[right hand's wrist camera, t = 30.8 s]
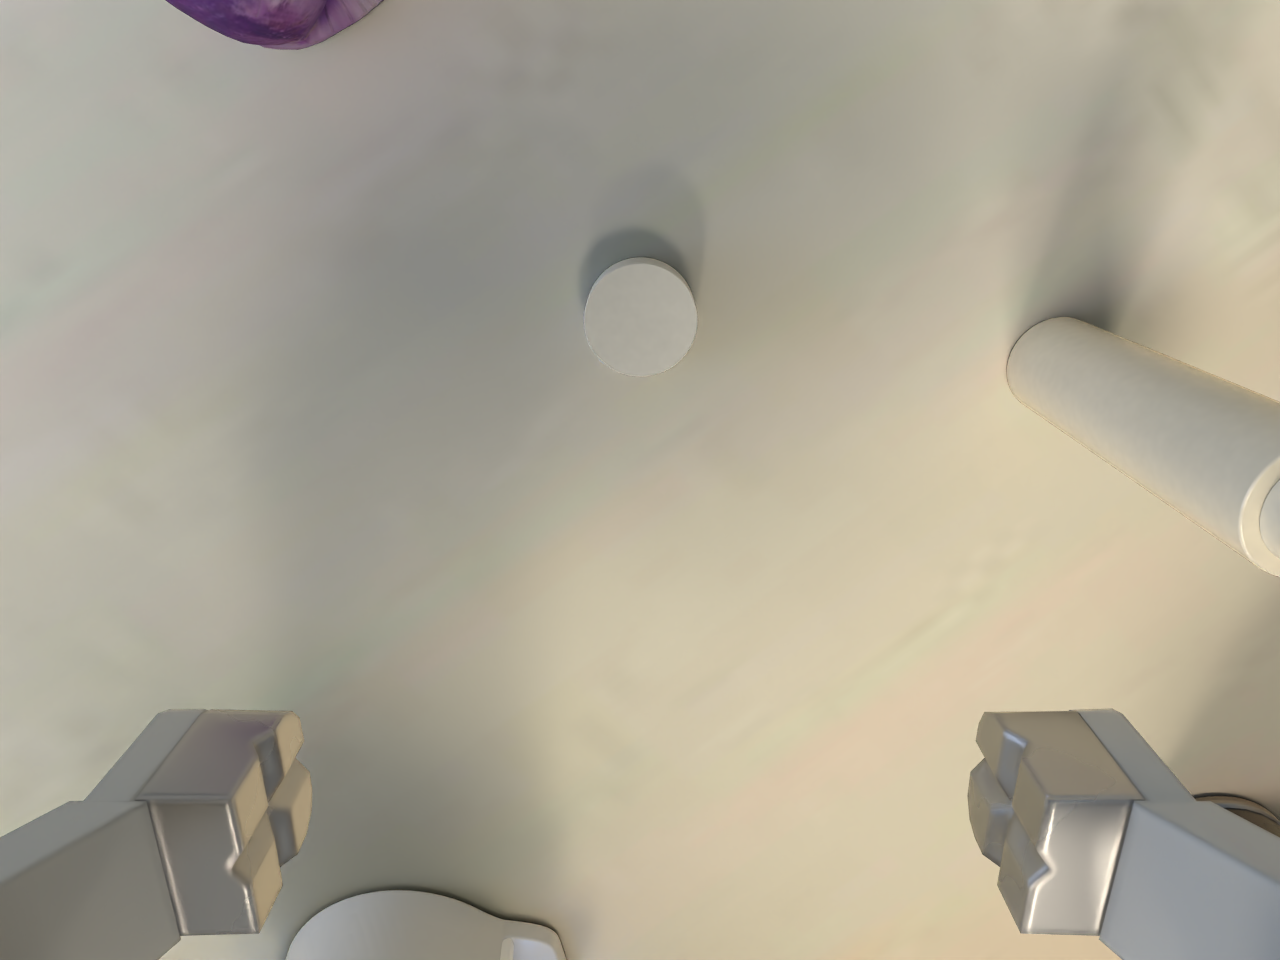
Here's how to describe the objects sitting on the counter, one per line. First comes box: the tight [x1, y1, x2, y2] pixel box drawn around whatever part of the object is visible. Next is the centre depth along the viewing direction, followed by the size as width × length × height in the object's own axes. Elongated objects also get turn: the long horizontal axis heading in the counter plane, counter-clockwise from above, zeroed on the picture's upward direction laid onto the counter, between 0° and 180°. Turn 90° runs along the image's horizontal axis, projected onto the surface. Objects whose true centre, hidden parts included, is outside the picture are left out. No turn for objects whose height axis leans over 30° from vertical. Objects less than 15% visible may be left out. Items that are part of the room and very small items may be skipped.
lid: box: [584, 257, 698, 377], centre depth 37 cm, size 5×5×2 cm
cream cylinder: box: [1007, 317, 1280, 577], centre depth 30 cm, size 4×4×18 cm
